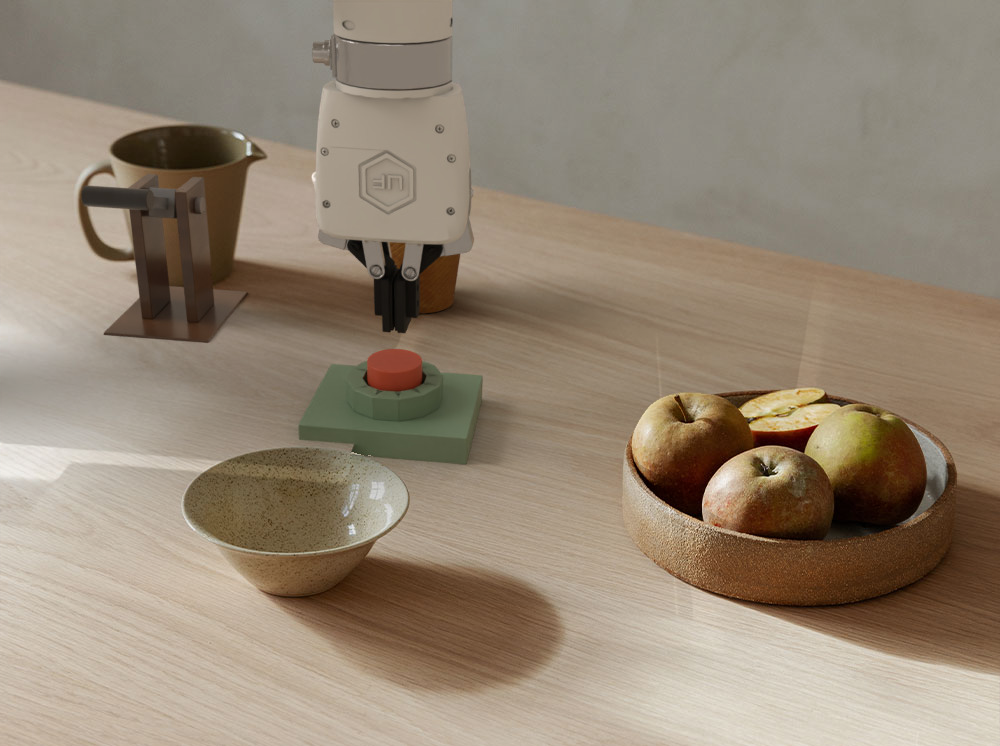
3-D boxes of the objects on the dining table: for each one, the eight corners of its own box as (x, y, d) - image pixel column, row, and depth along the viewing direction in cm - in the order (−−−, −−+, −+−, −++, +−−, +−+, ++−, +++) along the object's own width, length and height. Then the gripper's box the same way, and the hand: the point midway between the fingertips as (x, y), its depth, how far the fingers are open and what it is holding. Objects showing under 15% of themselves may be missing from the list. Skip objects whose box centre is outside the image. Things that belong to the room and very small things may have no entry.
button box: (299, 451, 79) (296, 401, 77) (331, 388, 88) (330, 342, 86) (466, 465, 78) (467, 415, 76) (482, 399, 87) (483, 354, 85)
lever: (145, 215, 82) (146, 183, 82) (80, 211, 82) (81, 179, 82) (202, 220, 94) (203, 191, 94) (145, 216, 94) (146, 188, 94)
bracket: (209, 353, 92) (196, 206, 87) (104, 345, 93) (85, 198, 87) (248, 303, 102) (239, 168, 96) (153, 296, 103) (139, 161, 97)
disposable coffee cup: (490, 298, 105) (494, 176, 100) (427, 329, 98) (428, 199, 93) (414, 274, 110) (414, 156, 105) (348, 302, 103) (345, 177, 98)
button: (362, 391, 79) (361, 370, 79) (373, 367, 83) (373, 346, 82) (417, 396, 79) (417, 374, 78) (426, 371, 83) (426, 350, 82)
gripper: (263, 69, 68) (280, 340, 76) (504, 81, 67) (496, 354, 75) (295, 48, 75) (308, 299, 83) (514, 58, 74) (506, 311, 82)
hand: (397, 324), depth 79 cm, fingers closed
